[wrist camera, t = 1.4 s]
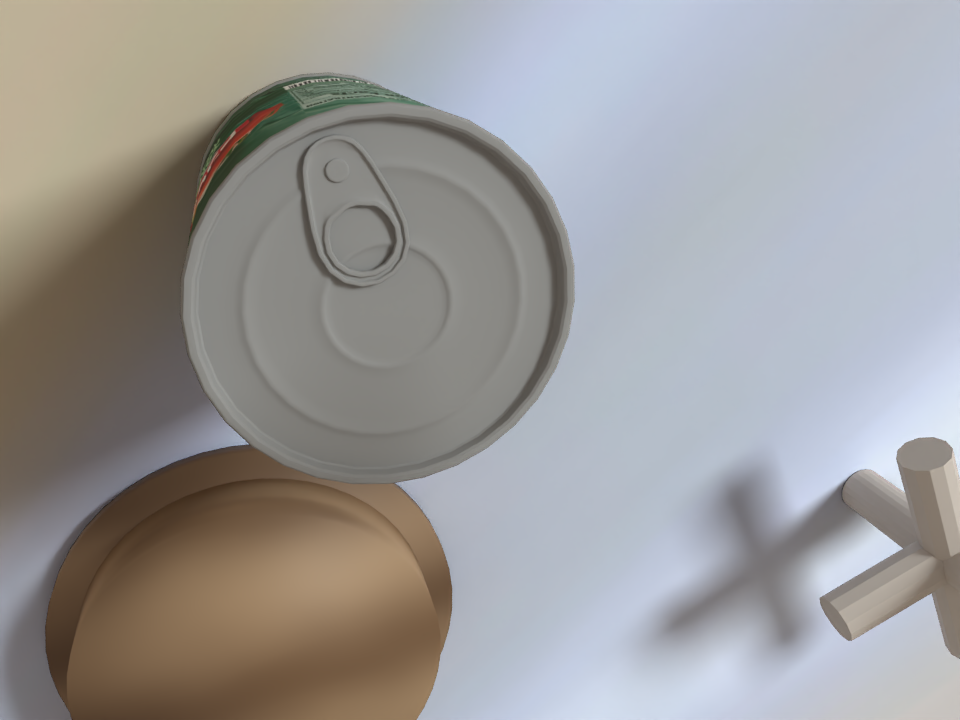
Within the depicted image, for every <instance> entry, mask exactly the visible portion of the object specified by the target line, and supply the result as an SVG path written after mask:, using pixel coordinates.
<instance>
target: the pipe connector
mask: <svg viewBox="0 0 960 720" xmlns="http://www.w3.org/2000/svg"><path fill="white" fill-rule="evenodd" d="M896 460H897V464H898V467H899V471H900V475H901V479H902V482H903V486H904V490H905V493H904V492H903V491H902V490H900V489H899V488H897V487H896V486H894V485H893V484H891V483H890V482H889V481H887V480H886V479H884V478H883V477H881V476H880V475H878V474H877V473H876V472H874V471H872V470H868V469H865V470H860V471H858V472H856V473H854V474H853V475H852V476H851V477H850V478H849V479H848V480H847V481H846V483H845V485H844V487H843V491H842V498H843V500H844V502H845V503H846V504H847V505H848V506H849V507H850V508H852V509H853V510H854V511H856V512H857V513H858V514H860V515H861V516H862V517H863V518H865V519H866V520H867V521H869V522H870V523H871V524H872V525H874V526H875V527H876V528H878V529H879V530H880V531H881V532H883V533H884V534H885V535H887V536H888V537H889V538H890V539H892V540H893V541H894V542H896V543H897V544H898V545H899V546H901V547H902V548H903V549H902V550H900V551H898V552H897V553H895V554H893V555H891V556H890V557H888V558H886V559H885V560H883V561H881V562H880V563H878V564H876V565H875V566H873V567H871V568H869V569H868V570H866V571H864V572H863V573H861V574H859V575H858V576H856V577H854V578H853V579H851V580H849V581H847V582H846V583H844V584H842V585H841V586H839V587H837V588H836V589H834V590H832V591H831V592H829V593H827V594H825V595H824V596H822V597H820V604H821V606H822V608H823V611H824V613H825V615H826V616H827V618H828V619H829V621H830V622H831V624H832V625H833V626H834V628H835V629H836V630H837V631H838V632H839V633H840V635H841V636H843V637H844V638H845V639H847V640H848V641H852V640H854V639H855V638H857V637H859V636H860V635H862V634H864V633H865V632H867V631H869V630H870V629H872V628H874V627H875V626H877V625H879V624H881V623H882V622H884V621H886V620H887V619H889V618H891V617H892V616H894V615H896V614H897V613H899V612H901V611H902V610H904V609H906V608H907V607H909V606H911V605H912V604H914V603H916V602H917V601H919V600H921V599H922V598H924V597H926V596H927V595H929V594H931V593H932V596H933V600H934V604H935V608H936V611H937V615H938V619H939V623H940V627H941V630H942V634H943V638H944V642H945V645H946V647H947V648H948V650H949V651H950V653H951V654H952V655H954V656H956V657H957V658H959V659H960V479H959V474H958V470H957V465H956V461H955V457H954V452H953V448H952V447H951V446H950V445H949V444H948V443H947V442H946V441H943V440H940V439H937V438H934V437H930V438H917V439H914V440H912V441H909V442H906V443H905V444H904V445H903V446H902V447H901V448H900V449H898V451H897V458H896Z"/></svg>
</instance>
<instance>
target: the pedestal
mask: <svg viewBox="0 0 960 720" xmlns="http://www.w3.org/2000/svg"><path fill="white" fill-rule="evenodd" d="M451 612H452V585H451V578H450V572H449V567H448V564H447V561H446V557H445V554H444V551H443V548H442V546H441V543H440V541H439V539H438V537H437V535H436V533H435V531H434V529H433V527H432V525H431V523H430V521H429V520H428V519H427V517H426V516H425V514H424V513H423V512H422V510H421V509H420V507H419V506H418V505H417V504H416V503H415V502H414V500H413V499H412V498H411V497H410V496H409V495H408V494H407V493H406V492H405V491H404V490H403V489H402V488H400V487H399V486H398V485H396V484H395V483H390V484H349V483H343V482H337V481H331V480H326V479H320V478H316V477H313V476H310V475H308V474H305V473H302V472H300V471H297V470H294V469H292V468H289V467H286V466H283V465H282V464H280V463H278V462H277V461H275V460H273V459H272V458H270V457H269V456H267V455H265V454H264V453H262V452H260V451H259V450H257V449H255V448H254V447H252V446H251V445H240V446H231V447H226V448H222V449H217V450H213V451H208V452H203V453H200V454H197V455H194V456H192V457H189V458H186V459H183V460H180V461H177V462H174V463H172V464H170V465H168V466H166V467H164V468H162V469H160V470H158V471H156V472H153V473H151V474H149V475H148V476H146V477H145V478H143V479H141V480H140V481H138V482H137V483H135V484H134V485H132V486H130V487H129V488H127V489H126V490H124V491H123V492H122V493H121V494H119V495H118V496H117V497H116V498H115V499H113V500H112V501H111V502H110V503H109V504H107V505H106V506H105V507H104V508H103V509H102V510H101V511H100V512H99V513H98V514H97V515H96V516H95V517H94V518H93V520H92V521H91V522H90V523H89V524H88V525H87V526H86V527H85V528H84V530H83V531H82V533H81V534H80V536H79V537H78V538H77V540H76V541H75V543H74V544H73V545H72V547H71V548H70V550H69V552H68V554H67V556H66V558H65V560H64V562H63V564H62V566H61V568H60V570H59V573H58V576H57V579H56V582H55V586H54V589H53V592H52V595H51V598H50V602H49V606H48V613H47V619H46V626H45V636H46V654H47V659H48V664H49V669H50V673H51V676H52V678H53V681H54V683H55V686H56V688H57V691H58V693H59V695H60V697H61V698H62V700H63V702H64V703H65V705H66V707H67V708H68V710H69V712H70V714H71V718H72V720H416V719H417V718H418V716H419V715H420V713H421V711H422V710H423V708H424V706H425V704H426V702H427V700H428V698H429V696H430V693H431V691H432V689H433V685H434V682H435V679H436V676H437V672H438V667H439V660H440V654H441V652H442V650H443V647H444V643H445V640H446V637H447V633H448V630H449V625H450V618H451Z"/></svg>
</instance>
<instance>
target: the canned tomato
mask: <svg viewBox="0 0 960 720" xmlns="http://www.w3.org/2000/svg"><path fill="white" fill-rule="evenodd" d="M574 302H575V295H574V263H573V258H572V253H571V248H570V243H569V239H568V234H567V230H566V228H565V225H564V223H563V221H562V219H561V216H560V214H559V212H558V209H557V207H556V205H555V202H554V200H553V198H552V196H551V195H550V193H549V192H548V191H547V189H546V188H545V186H544V185H543V183H542V182H541V181H540V179H539V178H538V176H537V175H536V173H535V172H534V171H533V169H532V168H531V167H530V166H529V165H528V164H527V163H526V162H525V161H524V160H523V159H522V158H521V157H520V156H519V155H518V154H517V153H515V152H514V151H513V150H512V149H511V148H510V147H509V146H508V145H507V144H506V143H505V142H504V141H503V140H501V139H499V138H498V137H496V136H494V135H493V134H491V133H489V132H488V131H486V130H484V129H483V128H481V127H479V126H478V125H476V124H474V123H473V122H471V121H470V120H467V119H464V118H461V117H458V116H456V115H453V114H450V113H447V112H444V111H441V110H438V109H435V108H432V107H430V106H427V105H425V104H423V103H420V102H417V101H415V100H412V99H410V98H407V97H405V96H403V95H400V94H398V93H395V92H393V91H390V90H388V89H385V88H384V87H382V86H380V85H378V84H375V83H372V82H369V81H367V80H364V79H361V78H358V77H355V76H349V75H342V74H334V73H316V74H302V75H298V76H294V77H291V78H287V79H284V80H280V81H277V82H274V83H272V84H270V85H269V86H267V87H265V88H263V89H261V90H259V91H257V92H255V93H253V94H252V95H250V96H249V97H248V98H247V99H246V100H244V101H243V102H242V103H241V104H240V105H238V106H237V107H236V108H235V109H234V110H232V111H231V112H230V114H229V115H228V116H227V118H226V119H225V120H224V121H223V123H222V124H221V125H220V127H219V128H218V129H217V130H216V132H215V133H214V135H213V137H212V139H211V141H210V143H209V146H208V148H207V150H206V152H205V154H204V156H203V159H202V164H201V168H200V172H199V176H198V180H197V192H196V199H195V206H194V212H193V219H192V225H191V230H190V236H189V243H188V250H187V254H186V258H185V262H184V266H183V271H182V275H181V303H180V317H181V323H182V328H183V333H184V338H185V343H186V349H187V354H188V357H189V359H190V361H191V364H192V366H193V368H194V371H195V373H196V375H197V378H198V380H199V382H200V385H201V387H202V389H203V391H204V393H205V394H206V395H207V397H208V398H209V400H210V401H211V402H212V404H213V405H214V407H215V408H216V410H217V411H218V412H219V414H220V415H221V417H222V418H223V419H224V421H225V422H226V423H227V424H228V425H229V426H230V427H232V428H233V429H234V430H235V431H236V432H237V433H238V434H239V435H240V436H241V437H242V438H243V439H245V440H246V441H247V442H248V443H249V444H250V445H251V446H252V447H254V448H255V449H257V450H259V451H260V452H262V453H264V454H265V455H267V456H269V457H270V458H272V459H273V460H275V461H277V462H278V463H280V464H282V465H283V466H286V467H289V468H292V469H294V470H297V471H300V472H302V473H305V474H308V475H310V476H313V477H316V478H320V479H326V480H331V481H337V482H343V483H349V484H390V483H396V482H401V481H407V480H412V479H418V478H423V477H426V476H429V475H432V474H434V473H437V472H440V471H443V470H445V469H448V468H451V467H454V466H456V465H458V464H460V463H462V462H463V461H465V460H467V459H469V458H470V457H472V456H474V455H476V454H477V453H479V452H481V451H483V450H485V449H486V448H488V447H489V446H490V445H492V444H493V443H494V442H495V441H496V440H498V439H499V438H500V437H501V436H502V435H504V434H505V433H506V432H507V431H509V430H510V429H511V428H512V427H513V426H515V425H516V423H517V422H518V421H519V420H520V419H521V418H522V417H523V415H524V414H525V413H526V412H527V411H528V410H529V408H530V407H531V406H532V405H533V404H534V403H535V402H536V400H537V399H538V398H539V396H540V394H541V393H542V391H543V389H544V388H545V386H546V384H547V383H548V381H549V379H550V378H551V376H552V374H553V373H554V371H555V369H556V367H557V364H558V362H559V359H560V357H561V354H562V351H563V349H564V346H565V343H566V341H567V338H568V335H569V329H570V324H571V318H572V313H573V307H574Z"/></svg>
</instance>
